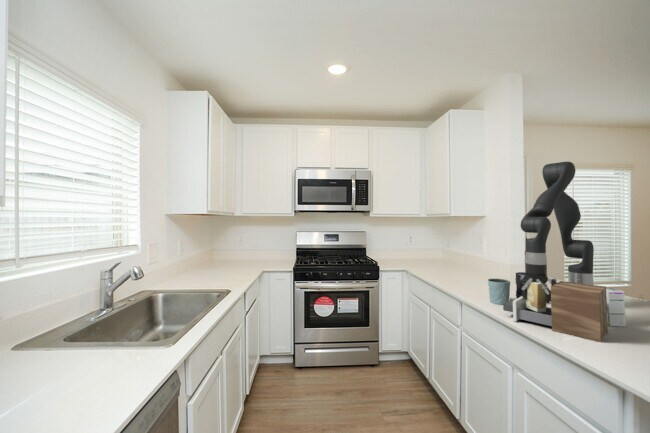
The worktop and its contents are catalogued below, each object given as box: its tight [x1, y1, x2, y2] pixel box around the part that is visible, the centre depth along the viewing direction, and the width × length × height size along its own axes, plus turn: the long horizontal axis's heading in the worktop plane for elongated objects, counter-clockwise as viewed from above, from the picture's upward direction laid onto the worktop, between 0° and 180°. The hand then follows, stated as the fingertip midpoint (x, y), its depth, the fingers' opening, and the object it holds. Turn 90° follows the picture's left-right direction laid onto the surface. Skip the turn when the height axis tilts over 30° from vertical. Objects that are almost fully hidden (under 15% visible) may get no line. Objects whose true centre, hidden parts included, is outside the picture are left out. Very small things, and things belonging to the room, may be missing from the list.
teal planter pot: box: [487, 278, 511, 306], centre depth 150 cm, size 10×10×12 cm
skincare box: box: [526, 282, 548, 312], centre depth 123 cm, size 6×4×12 cm
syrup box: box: [606, 287, 627, 327], centre depth 118 cm, size 6×6×14 cm
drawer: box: [502, 296, 552, 327], centre depth 124 cm, size 15×19×8 cm
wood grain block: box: [550, 280, 608, 343], centre depth 112 cm, size 15×14×18 cm
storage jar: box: [515, 271, 527, 299], centre depth 150 cm, size 10×10×15 cm
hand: (536, 300), depth 122 cm, fingers closed on skincare box, 7 cm apart
